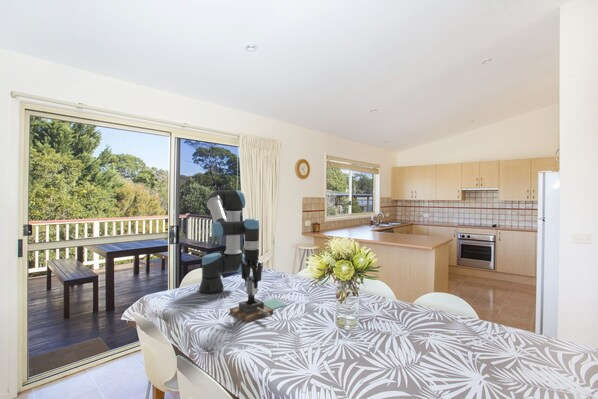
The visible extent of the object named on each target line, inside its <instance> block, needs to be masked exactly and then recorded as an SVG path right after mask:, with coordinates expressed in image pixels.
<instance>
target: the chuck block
mask: <svg viewBox="0 0 598 399" xmlns="http://www.w3.org/2000/svg"><path fill="white" fill-rule="evenodd" d="M264 302H265V301H261V300H260V299H257V298H256V297H255V302H253V303H249V302H248V299H247V300H245V301H240V302H238V306H235V307H230V308H229V313H230V314H232V315H233V316H235V317H237V318H239V319H240V320H242V321H243V322H244V323H248V322H251V321H254V320H257V319H261V318H263V317H264V318H265V317H270V316H271V315H274V309H273V310H272V309H270V308H268V307H266V306H264Z"/></svg>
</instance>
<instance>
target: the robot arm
mask: <svg viewBox="0 0 598 399" xmlns="http://www.w3.org/2000/svg"><path fill="white" fill-rule="evenodd" d="M205 203H206V207H207V209H208V210H209V211H210V215H211V217H212V223H211V235H212V236H213V237H226V247H225V248H226V249H225V251H224V252H223V254H221V253H220V252H215V253H213V252H212V253H209V254H206V255H205V254H204V256H202V259H201V265H202V266H201V282H200V285H199V288H198V292H199V293H200V294H204V295H213V294H218V293H222V292H223V291H224V287H225V286H224V284H223V280H222V276H221V275H222V274H227V273H228V274H230V273H238V272H241V279H242V280H244V286H245V294H247V295H248V280H247V277H250V276H251V273H252V275H253V282H252V295H255V296H256V295H257V290H258V288H259V286H258V285H259V283H258V282H260V281H262V272H263V265H264V262H263V261H260V259H259V255H260V249H259V248H260V220H259V218H245V219H244V220H241V213H242V212H243V209H245V208H246V198H245V194H244V191H242V190H237V189H235V190H230V189H229V190H228V189H226V190H224V189H219V190H215V191H213V192H211V193H210V194H209V195H208V196H207V198H206V201H205ZM241 236H244V238H243V239H244V242H243V243H244V244H243V245H244V247H243V248H244V249H243V251H244V252H243V251H242V250H241V242H240V241H241ZM251 271H252V272H251Z"/></svg>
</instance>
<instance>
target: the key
mask: <svg viewBox="0 0 598 399" xmlns="http://www.w3.org/2000/svg"><path fill="white" fill-rule="evenodd" d="M247 280H248V294H247V300H248V302H249V303H253V302H255V298H256V297H255V296H256V294H255V295H252V282H253V274H252V275H250V277H247Z"/></svg>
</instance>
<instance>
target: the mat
mask: <svg viewBox="0 0 598 399" xmlns="http://www.w3.org/2000/svg"><path fill="white" fill-rule="evenodd" d="M263 302H264V306H266V307H268V308H270V309H272V310H273V311H274V310H276V309H279V308H283V307H286V306H287V304H286V303H285V302H282V301H279V300H277V299H276V298H273V299H269V300H265V301H263Z"/></svg>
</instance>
